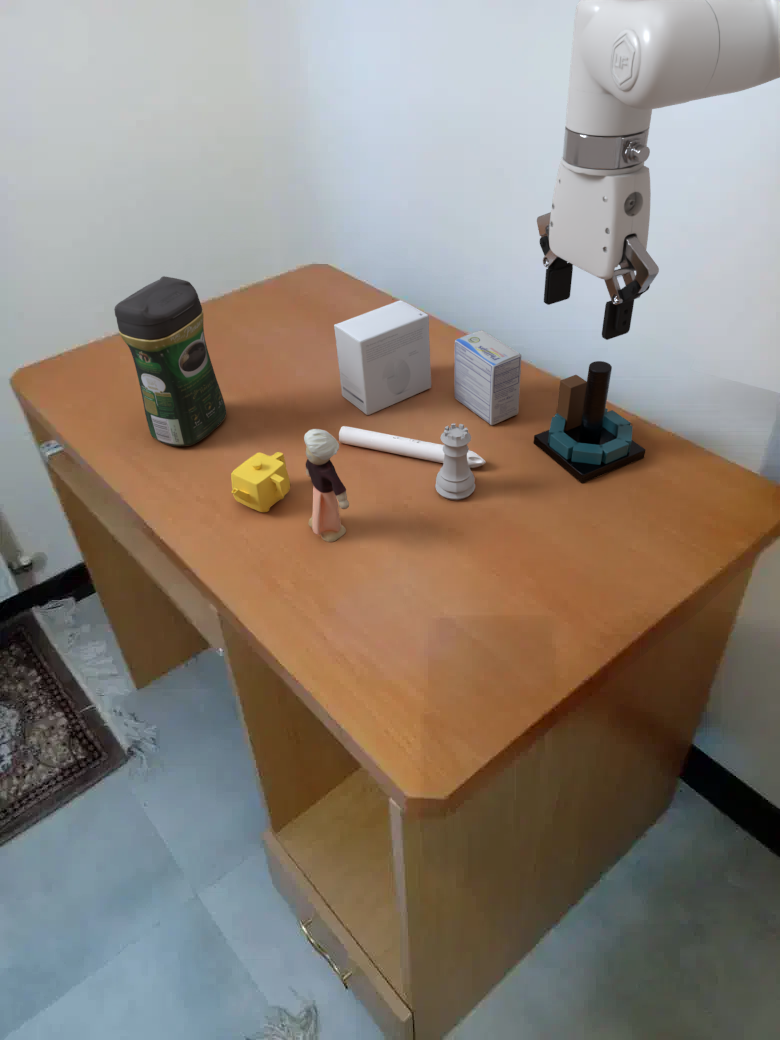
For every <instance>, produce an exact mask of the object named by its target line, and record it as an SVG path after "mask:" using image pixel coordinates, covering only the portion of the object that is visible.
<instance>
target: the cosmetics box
mask: <svg viewBox="0 0 780 1040" xmlns="http://www.w3.org/2000/svg"><path fill="white" fill-rule="evenodd" d="M333 329H334V336H335V344H336V353H337V362H338V363H337V364H338V372H339V381H340V390H341V396H342V397H343V398H344V399H345V400H346V401H348V402H350V403H351V404H352V405H353V406H355V407H356V408H357V409H359V411H361V412H362V413H363V414H365V415H367V416H370V415H372V414H374V413H377V412H379V411H382V410H383V409H386V408H388V407H389V406H390V407H391V406H393V405H395V404H397V403H399V402H402V401H405V400H406V399H409V398H411V397H413V396H415V395H417V394H419V393H423V392H425V391H427V390H430V389H431V388H432V374H431V373H432V372H431V348H430V347H431V345H430V314H428V313H426V312H424V311H423V310H421V309H419V308H417V307H416V306H413V305H412V304H410V303H408V302H406V301H404V300H402V299H399V300H396V301H394V302H391V303H389V304H386V305H384V306H380V307H378V308H376V309H372V310H370V311H367V312H365V313H362V314H360V315H357V316H353V317H351V318H349V319H346V320H343V321H340V322H338V323H335V324H333Z"/></svg>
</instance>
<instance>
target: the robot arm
mask: <svg viewBox="0 0 780 1040" xmlns="http://www.w3.org/2000/svg"><path fill="white" fill-rule="evenodd" d="M570 53H571V56H570V67H569V77H568V90H567V100H566V101H567V103H566V116H565V125H564V126H565V127H564V137H563V149H562V156H561V159H560V161H559V165H558V169H557V173H556V179H555V184H554V189H553V195H552V200H551V207H550V208H551V209H550V212H548V213H545V214H542V215H540V216H537V218H536V225H537V230H538V235H539V245H540V246H539V247H540V249H541V250H542V253H543V258H542V264H543V266H544V267H545V268H546V269H545V277H544V278H545V279H544V290H543V291H544V292H543V303H544V304H546V305H547V306H551V305H552V304H556V303H559V302H563V301H566V300H569V299H570V297H571V292H572V280H573V273H574V271H573V270H574V267H577V268H579V269H581V270H583V271H584V272H587V273H588V274H591V275H592V276H594V277H595V278H598V279H601V280H604V283H605V286H606V289H607V292H608V295H609V298H610V300H609V301H606V303H605V308H604V313H603V321H602V327H601V328H602V330H601V338H602V339H604V340H606V341H608V340H611V339H615V338H618V337H620V336H623V335H626V334H628V333H629V332H630V330H631V324H632V319H633V310H634V304H635V300H637V299H640V298H641V296H642V295H643V294H644V293H646V292H647V291H649V289H650V287H651V284H652V283H653V282H654V280H655V279H656V277H657V276H658V274H659V272H660V269H659V266H658V264H657V263H656V261H655V260H654V258H652V255H650V253H649V252H648V251H647V247H648V240H649V229H650V221H651V220H650V217H651V175H650V173H651V172H650V168H649V167H648V166H646V165H645V162H646V161H647V160H648V159H649V156H650V153H651V150H650V148H649V147H648V140H649V134H650V127H651V119H652V114H653V110H657V109H661V108H666V107H671V106H677V105H681V104H685V103H689V102H693V101H697V100H703V99H706V98H713V97H717V96H723V95H728V94H734V93H738V92H743V91H745V90H749V89H752V88H756V87H758V86H761V85H763V84H766V83H768V82H773V81H774V80H776V79H780V0H578V3H577V4H576V7H575V13H574V20H573V31H572V43H571V52H570ZM618 266H619V267H620V268H618ZM617 268H618V269H617ZM619 278H622V279H623V283H624V286H623V287H621V286H620V283H619V280H618V279H619Z"/></svg>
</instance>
